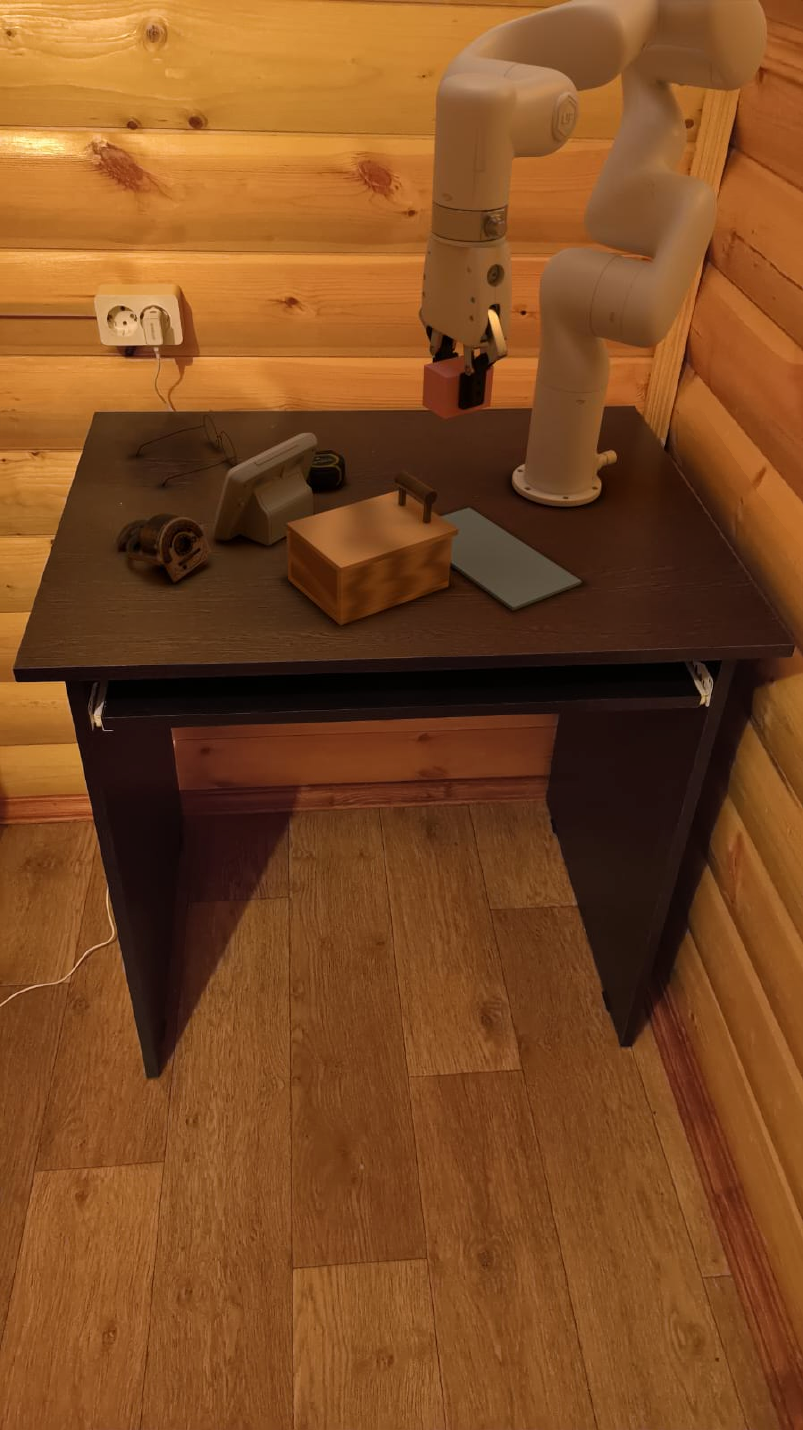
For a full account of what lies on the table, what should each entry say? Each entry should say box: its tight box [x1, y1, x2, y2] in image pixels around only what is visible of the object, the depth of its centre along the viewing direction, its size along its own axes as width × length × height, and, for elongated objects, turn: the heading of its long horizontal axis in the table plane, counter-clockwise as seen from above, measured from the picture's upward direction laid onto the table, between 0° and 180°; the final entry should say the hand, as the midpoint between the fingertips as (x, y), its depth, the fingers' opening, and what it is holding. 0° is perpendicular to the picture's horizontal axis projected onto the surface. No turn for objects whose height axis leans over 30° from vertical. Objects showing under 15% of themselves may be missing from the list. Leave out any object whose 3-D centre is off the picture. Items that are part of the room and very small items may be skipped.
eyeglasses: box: [135, 414, 237, 487], centre depth 144 cm, size 11×13×5 cm
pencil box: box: [286, 530, 453, 626], centre depth 121 cm, size 16×12×7 cm
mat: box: [440, 507, 582, 612], centre depth 129 cm, size 11×22×1 cm, turn 36°
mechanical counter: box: [116, 513, 213, 583], centre depth 123 cm, size 7×13×10 cm
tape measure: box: [306, 449, 346, 489], centre depth 142 cm, size 7×7×4 cm
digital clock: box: [212, 432, 319, 547], centre depth 130 cm, size 16×9×11 cm, turn 133°
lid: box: [286, 470, 458, 574], centre depth 118 cm, size 16×12×5 cm
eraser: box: [421, 354, 495, 420], centre depth 112 cm, size 6×4×5 cm, turn 125°
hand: (457, 396), depth 113 cm, fingers closed on eraser, 4 cm apart
